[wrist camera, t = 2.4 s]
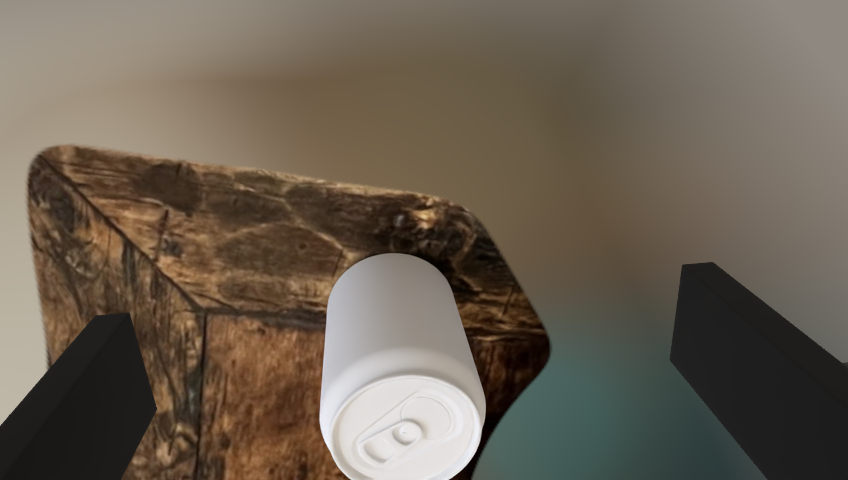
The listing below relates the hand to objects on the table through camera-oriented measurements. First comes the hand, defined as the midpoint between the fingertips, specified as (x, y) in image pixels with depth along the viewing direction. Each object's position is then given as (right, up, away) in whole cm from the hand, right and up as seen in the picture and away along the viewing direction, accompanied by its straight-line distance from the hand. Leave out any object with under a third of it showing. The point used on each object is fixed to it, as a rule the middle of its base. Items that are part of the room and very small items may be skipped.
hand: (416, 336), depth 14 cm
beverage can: (-2, -2, +24) cm, 24 cm away
